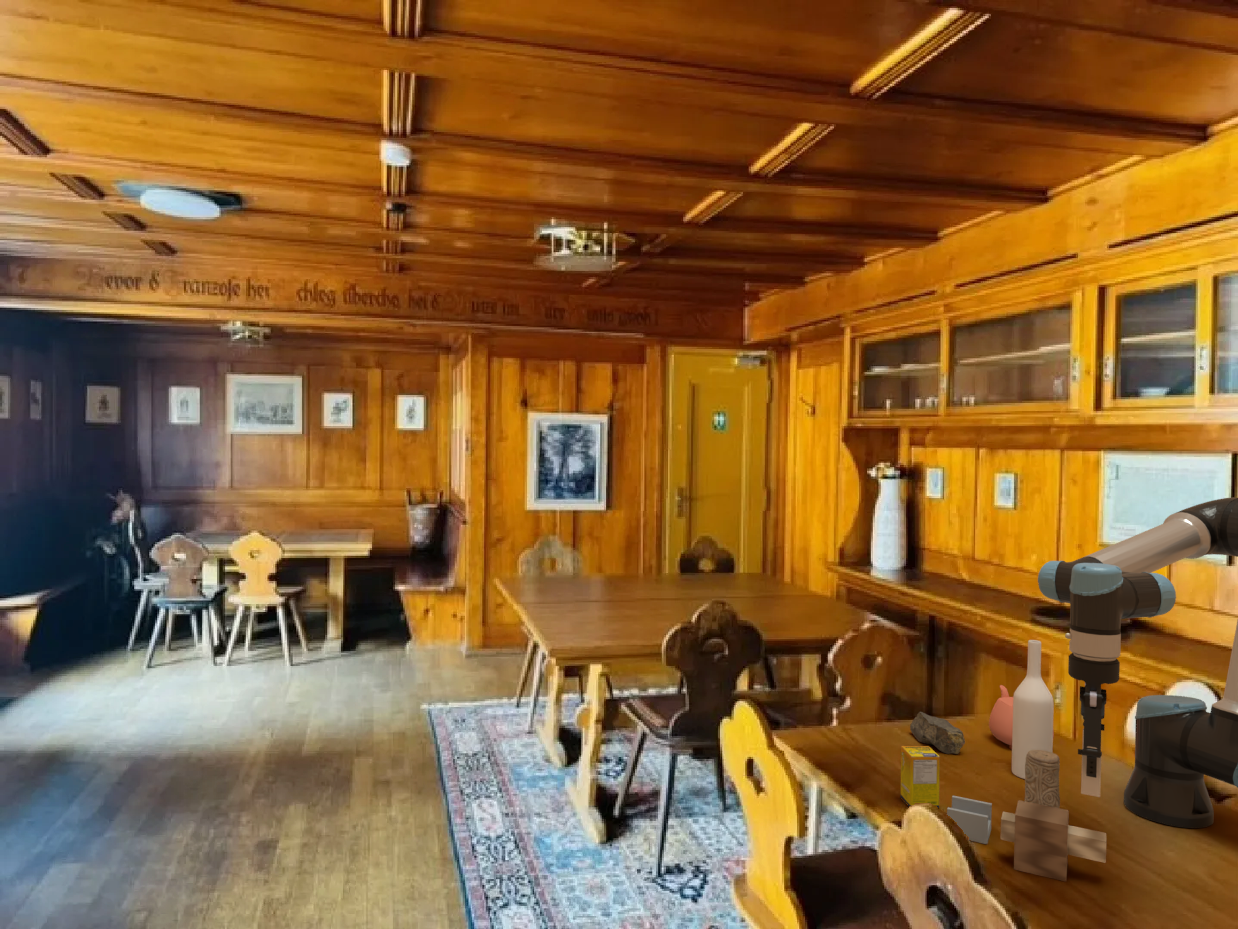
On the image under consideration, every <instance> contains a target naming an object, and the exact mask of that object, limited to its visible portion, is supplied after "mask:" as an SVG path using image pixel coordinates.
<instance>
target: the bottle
mask: <svg viewBox="0 0 1238 929" xmlns="http://www.w3.org/2000/svg"><path fill="white" fill-rule="evenodd" d="M1041 668H1042V641H1041V640H1037V639H1029V640H1028V641H1027V668H1026V669H1027V670H1026V675H1025V678H1024V679H1022V682H1021V683H1020V684H1019V685H1018V686H1017V688H1016V689H1015V690H1014V692H1013V696H1012V697H1013V733H1012V749H1011V773H1012V774H1013V775H1014V776H1016V777H1018V778H1020V779H1023V780H1025V762H1026V757H1027V756H1026V755H1027V753H1028V752H1029V751H1030V750H1044V751H1048V752H1052V753H1053V750H1054V749H1053V746H1054V745H1053V744H1054V743H1053V742H1054V738H1053V731H1054V697H1053V695H1052V693H1051V692H1050V691H1051V690H1049V688H1048V687H1047V685H1046V683H1045V681H1044V680H1043V678H1042V669H1041Z"/></svg>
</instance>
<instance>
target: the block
mask: <svg viewBox="0 0 1238 929" xmlns="http://www.w3.org/2000/svg"><path fill="white" fill-rule="evenodd" d="M1069 812H1070V810H1068V809H1064V808H1060V807H1059V808H1055V807H1050V806H1045V805H1040V804H1035V803H1030V802H1025V800H1024V801H1023V800H1019V799H1018V800H1017V804H1016V809H1015V813H1014V814H1015V843H1013V844H1014V846H1013V847H1014V848H1013V849H1014V850H1013V851H1014V853H1013V870H1016V871H1020V872H1023V873H1028V874H1031V875H1036V876H1041V877H1045V878H1049V879H1052V880H1053V879H1054V880H1058V881H1061V882H1067V878H1068V877H1067V875H1068V854H1067V839H1068V825H1069V820H1070V819H1069V815H1070V814H1069Z"/></svg>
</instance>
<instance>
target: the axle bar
mask: <svg viewBox="0 0 1238 929" xmlns="http://www.w3.org/2000/svg"><path fill="white" fill-rule="evenodd" d="M1000 840H1002V841H1005V842H1006V841H1007V842H1011V843H1013V844H1015V813H1013V812H1007V811H1002V814H1001V818H1000ZM1067 854H1068V855H1069V856H1073V857H1077V858H1082V859H1087V860H1091V861H1094V862H1101V863H1104V864H1106V863H1107V833H1106V832H1103V831H1098V830H1094V829H1089V828H1083V827H1080V826H1074V825H1069V824H1068V839H1067Z"/></svg>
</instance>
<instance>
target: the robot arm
mask: <svg viewBox="0 0 1238 929" xmlns="http://www.w3.org/2000/svg"><path fill="white" fill-rule="evenodd" d="M1208 555H1209V556H1210V555H1221V556H1229V557H1230V556H1232V557H1237V558H1238V497H1233V496H1232V497H1223V498H1218V499H1213V500H1209V501H1205V502H1202V503H1199V504H1196V505H1193V506H1190V507H1187V508H1184V509H1181V510H1179V511H1176V512H1173V513H1171V514H1170V515H1168V516H1167V517H1166V518H1165V519H1164V521H1163V523H1161V524H1159V525H1156V526H1154V527H1152V528H1149V529H1148V530H1145V531H1142V532H1139V533H1138V534H1135V535H1133V536H1131V537H1128V538H1126V539H1123V540H1121V541H1119V542H1116V543H1114V544H1111V545H1109V546H1107V547H1104V548H1102V549H1099V550H1097V551H1095V552H1093V553H1089V554H1088V555H1085V556H1083V557H1081V558H1078V559H1075V560H1073V561H1065V560H1049V561H1048V562H1045V563H1044V565H1042V566H1041V568H1040V570H1039V572H1038V574H1037V575H1038V576H1037V583H1038V588H1039V591H1040V592H1041V594H1042V595H1043V596H1044V597H1045V598H1047V599H1051V600H1052V601H1053V600H1054V601H1057V602H1060V603H1063V604H1070V605H1069V607H1070V608H1069V611H1070V612H1069V613H1070V614H1069V616H1070V617H1069V632H1067V633H1065V635H1064V636H1065V638H1066V639H1067V640H1069V644H1068V645H1069V648H1068V650H1069V651H1070V652H1071V653H1069V655H1068V667H1067V668H1068V671H1067V672H1068V675H1069V676H1070V677H1071V678H1072V679H1075V680H1077V681H1082V682H1084V686H1080V685H1079V701H1080V716H1082V719H1083V723H1082V726H1083V728H1082V749H1081V748H1078V749H1077V755H1080V756H1081V784H1080V794H1081V795H1085V796H1086V795H1087V796H1092V797H1097V798H1101V786H1102V785H1101V784H1102V783H1101V782H1102V781H1101V780H1102V779H1101V778H1102V776H1101V775H1102V755H1103V752H1102V751H1101V750H1102V731H1103V732H1104V731H1105V724H1103V723H1102V720H1103V719H1105V715H1106V714H1105V712H1106V710H1105V708H1106V707H1105V706H1106V704H1107V696H1108V695H1107V689H1103V688H1102V685H1103V684H1104V685H1105V684H1106V685H1111V684H1112V685H1113V684H1116V683H1118V682H1119V681H1120V668H1121V667H1120V665H1121V664H1120V663H1121V662H1120V660H1119V659H1118V658H1119V657H1120V656H1121V642H1122V640H1121V639H1122V633H1121V624H1122V620H1123V619H1124V620H1125V619H1136V618H1138V619H1139V618H1149V619H1151V618H1154V617H1157V616H1163V615H1165V614H1167V613H1169V612H1170V611H1171V610H1172V609H1173V608H1174V607H1175V606H1174V605H1175V604H1176V602H1177V601H1176V599H1177V594H1176V589H1175V586H1174V584H1173V582H1171V581H1170V580H1169V578H1168V577H1166V576H1165V575H1163V574H1160V573H1157V571H1158V570H1161V569H1164V568H1165V567H1167V566H1169V565H1172V564H1174V563H1176V562H1179V561H1181V560H1183V559H1191V560H1192V559H1193V560H1194V559H1199V558H1201V557H1204V556H1208ZM1231 648H1232V649H1231V654H1230V659H1229V664H1228V665H1229V666H1228V671H1227V675H1226V681H1225V686H1224V687H1225V688H1224V692H1223V697H1222V698H1221V699H1220V700H1218V701H1216V702H1214V703H1212V704H1211V706H1210V708H1211V709H1210V712H1208V711H1207V710H1208V707H1207V705H1206V704H1207V703H1206V702H1205V701H1203V699H1200V698H1197V697H1191V696H1185V695H1183V696H1182V695H1174V694H1173V695H1172V694H1170V695H1169V694H1166V695H1164V694H1154V695H1147V696H1143V697H1141V698H1139V700H1138V701H1137V703H1136V712H1135V716H1134V719H1135V727H1134V728H1135V735H1134V737H1135V742H1134V767H1133V770H1132V773H1131V774H1130V778H1128V781H1127V784H1126V786H1125V789H1124V792H1123V805H1124V806H1125V808H1126V809H1128V810H1129V811H1130V812H1132V813H1133V814H1135V815H1136V816H1140V817H1141V818H1144V819H1146V820H1149V821H1152V822H1154V823H1158V824H1161V825H1162V824H1163V825H1166V826H1171V827H1179V828H1184V829H1185V828H1186V829H1202V828H1207V827H1209V826H1211V825H1213V824H1214V818H1215V817H1214V807H1213V803H1212V801H1211V798H1210V796H1209V792H1208V789H1207V786H1206V783H1205V778H1204V777H1205V776H1207V777H1209V778H1212V779H1215V780H1218V781H1221V782H1224V783H1225V784H1229V785H1232V786H1234V787H1236V788H1237V789H1238V619H1237V621H1236V626H1235V632H1234V637H1233V643H1232V646H1231Z"/></svg>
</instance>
